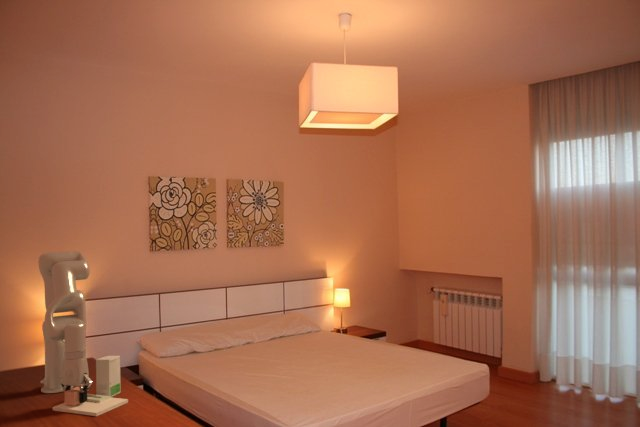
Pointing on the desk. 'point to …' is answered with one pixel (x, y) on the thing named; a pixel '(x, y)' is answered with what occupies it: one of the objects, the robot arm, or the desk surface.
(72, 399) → the stub
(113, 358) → the skincare box
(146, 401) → the desk surface
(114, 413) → the desk surface
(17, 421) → the desk surface
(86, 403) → the ticket board
